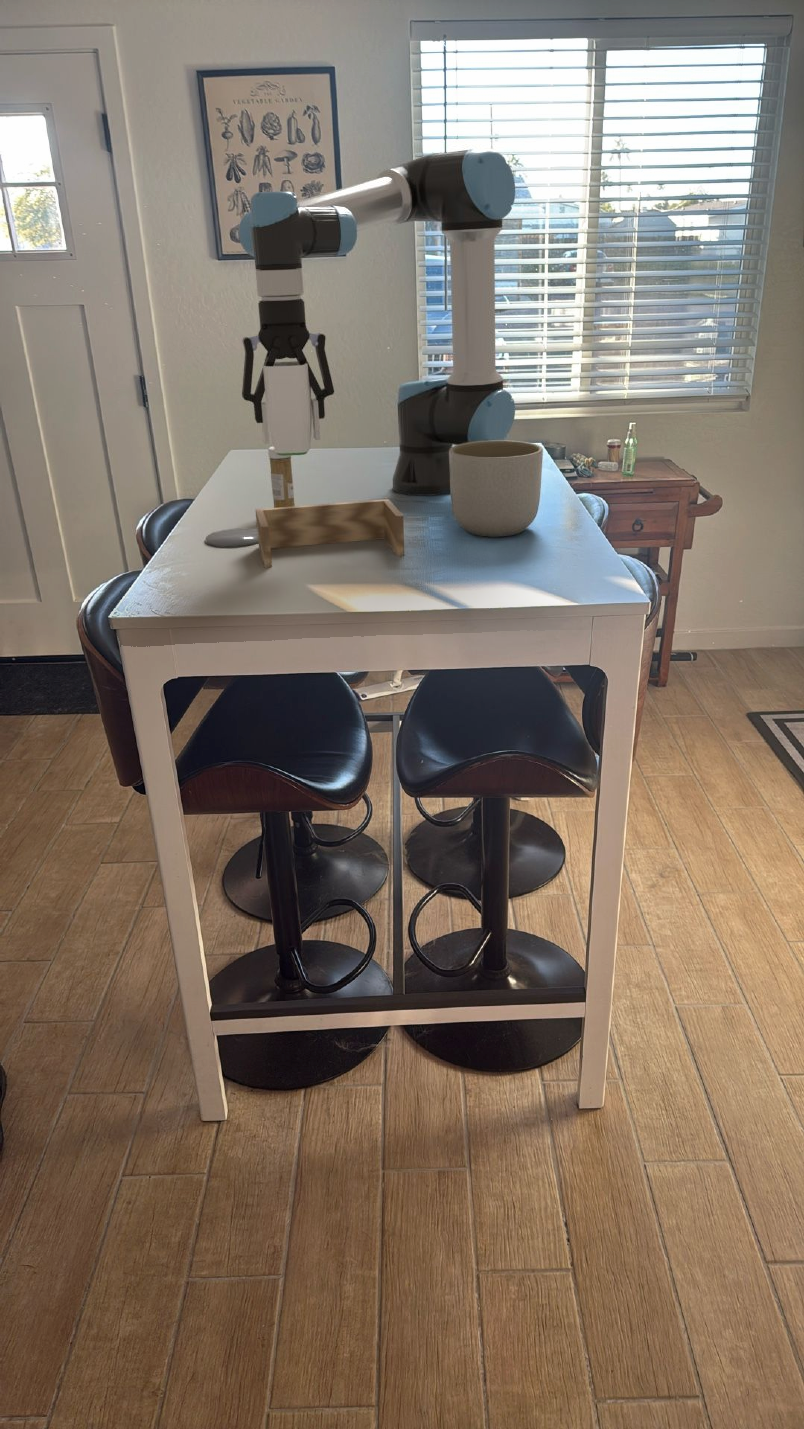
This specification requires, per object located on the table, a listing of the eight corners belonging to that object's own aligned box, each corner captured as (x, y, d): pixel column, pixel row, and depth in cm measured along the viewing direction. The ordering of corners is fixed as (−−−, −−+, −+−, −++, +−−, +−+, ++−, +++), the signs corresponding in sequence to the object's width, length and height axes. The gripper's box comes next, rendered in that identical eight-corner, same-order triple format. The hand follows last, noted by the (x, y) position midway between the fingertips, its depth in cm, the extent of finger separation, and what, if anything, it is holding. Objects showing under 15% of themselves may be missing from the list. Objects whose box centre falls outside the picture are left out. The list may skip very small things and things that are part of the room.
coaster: (262, 529, 193) (262, 526, 192) (267, 544, 183) (267, 541, 183) (205, 534, 191) (204, 531, 190) (207, 549, 181) (206, 546, 181)
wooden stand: (389, 536, 186) (388, 499, 183) (404, 555, 174) (403, 515, 171) (258, 547, 181) (255, 509, 178) (264, 567, 170) (261, 527, 167)
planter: (548, 522, 192) (551, 441, 185) (529, 545, 177) (531, 459, 171) (463, 517, 197) (463, 438, 191) (438, 539, 183) (437, 455, 176)
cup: (269, 458, 170) (261, 367, 164) (275, 450, 176) (267, 362, 170) (311, 457, 170) (305, 365, 163) (316, 449, 176) (310, 360, 170)
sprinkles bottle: (299, 514, 203) (294, 447, 197) (279, 517, 201) (274, 450, 195) (289, 509, 207) (284, 443, 201) (269, 513, 204) (264, 446, 199)
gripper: (339, 294, 168) (347, 432, 178) (214, 300, 164) (229, 441, 173) (348, 296, 161) (355, 439, 171) (218, 302, 157) (233, 448, 167)
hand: (291, 440), depth 172 cm, fingers closed on cup, 8 cm apart
